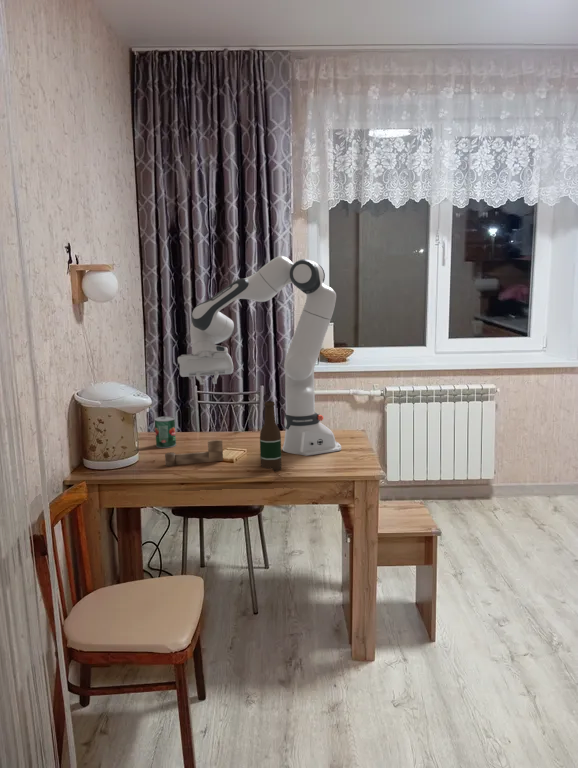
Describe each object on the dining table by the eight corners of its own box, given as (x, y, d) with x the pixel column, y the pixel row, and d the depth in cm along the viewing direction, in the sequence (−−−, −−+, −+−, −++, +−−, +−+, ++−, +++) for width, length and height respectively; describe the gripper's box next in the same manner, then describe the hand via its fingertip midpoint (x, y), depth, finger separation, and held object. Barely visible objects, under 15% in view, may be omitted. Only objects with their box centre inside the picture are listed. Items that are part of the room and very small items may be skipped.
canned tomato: (178, 446, 270) (177, 419, 268) (159, 449, 267) (157, 421, 265) (172, 441, 277) (171, 415, 275) (153, 444, 274) (152, 417, 272)
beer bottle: (256, 467, 240) (254, 400, 236) (277, 464, 243) (275, 398, 239) (264, 473, 233) (262, 405, 229) (285, 470, 236) (284, 402, 232)
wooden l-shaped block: (220, 454, 252) (219, 435, 250) (223, 461, 243) (222, 441, 242) (164, 459, 247) (163, 439, 246) (165, 466, 239) (164, 446, 237)
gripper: (177, 350, 255) (180, 380, 248) (231, 347, 260) (236, 376, 252) (176, 360, 260) (180, 389, 253) (230, 357, 265) (234, 386, 257)
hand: (208, 383), depth 253 cm, fingers open, 3 cm apart
